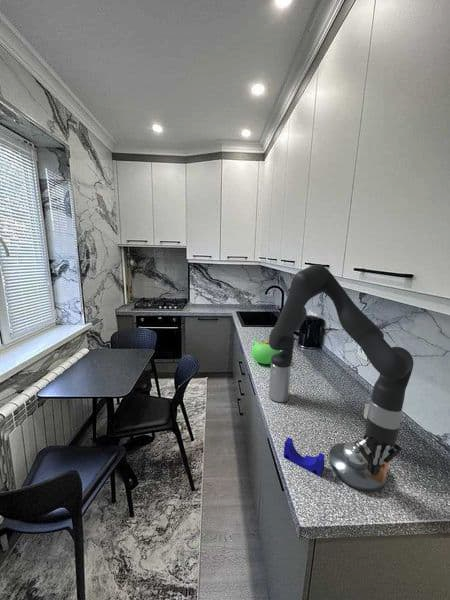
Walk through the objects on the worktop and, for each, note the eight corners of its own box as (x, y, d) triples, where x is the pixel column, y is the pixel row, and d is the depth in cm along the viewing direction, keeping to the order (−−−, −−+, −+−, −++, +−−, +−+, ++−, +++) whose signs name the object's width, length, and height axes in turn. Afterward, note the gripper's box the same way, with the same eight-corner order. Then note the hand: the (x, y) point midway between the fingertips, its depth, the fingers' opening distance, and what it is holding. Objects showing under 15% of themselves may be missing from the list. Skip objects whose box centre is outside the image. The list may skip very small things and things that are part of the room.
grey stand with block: (358, 442, 91) (364, 402, 88) (371, 441, 91) (377, 402, 88) (368, 455, 85) (375, 413, 82) (382, 454, 85) (389, 413, 83)
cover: (338, 458, 79) (340, 444, 78) (350, 449, 83) (352, 435, 82) (360, 474, 74) (362, 459, 73) (371, 464, 77) (374, 449, 76)
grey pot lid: (318, 460, 81) (320, 439, 79) (346, 441, 89) (348, 421, 88) (368, 501, 67) (372, 476, 66) (395, 474, 76) (399, 452, 75)
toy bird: (253, 368, 148) (254, 344, 146) (249, 356, 165) (250, 335, 162) (282, 368, 149) (284, 345, 146) (276, 356, 166) (277, 336, 163)
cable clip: (324, 468, 80) (325, 452, 78) (319, 477, 76) (321, 461, 75) (288, 449, 87) (290, 434, 86) (283, 457, 83) (284, 442, 82)
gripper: (369, 428, 63) (358, 485, 67) (417, 428, 64) (404, 484, 68) (352, 409, 71) (343, 461, 74) (395, 410, 72) (385, 461, 75)
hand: (372, 472), depth 71 cm, fingers closed
